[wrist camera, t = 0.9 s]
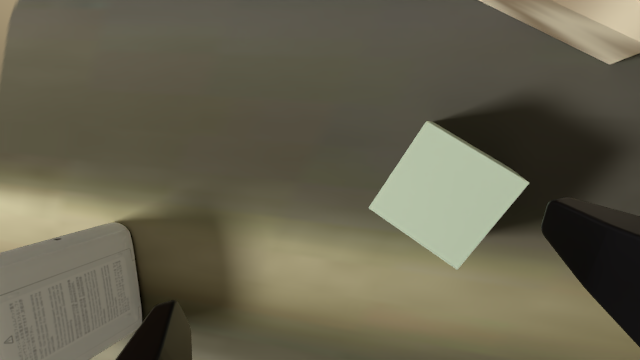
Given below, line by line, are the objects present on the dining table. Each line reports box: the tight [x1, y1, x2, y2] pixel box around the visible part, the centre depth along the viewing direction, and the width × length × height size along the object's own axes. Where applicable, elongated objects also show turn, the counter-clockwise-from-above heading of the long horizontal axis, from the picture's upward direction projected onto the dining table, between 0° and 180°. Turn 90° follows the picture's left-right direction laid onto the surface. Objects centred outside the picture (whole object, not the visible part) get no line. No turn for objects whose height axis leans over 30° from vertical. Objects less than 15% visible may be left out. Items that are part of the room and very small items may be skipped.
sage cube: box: [369, 121, 529, 269], centre depth 18 cm, size 5×5×5 cm
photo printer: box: [0, 222, 142, 360], centre depth 26 cm, size 10×4×12 cm, turn 4°
